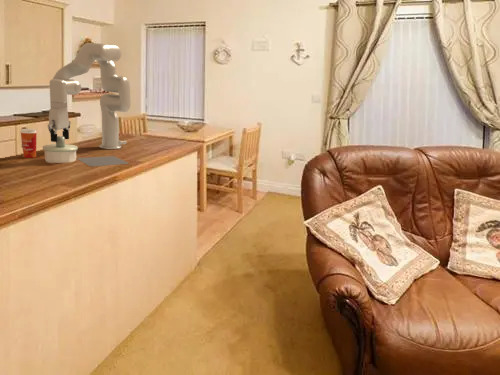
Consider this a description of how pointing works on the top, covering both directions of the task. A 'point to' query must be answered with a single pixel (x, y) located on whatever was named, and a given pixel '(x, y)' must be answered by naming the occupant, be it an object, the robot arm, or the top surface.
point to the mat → (102, 161)
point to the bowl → (60, 157)
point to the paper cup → (29, 142)
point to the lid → (60, 146)
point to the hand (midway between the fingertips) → (60, 140)
